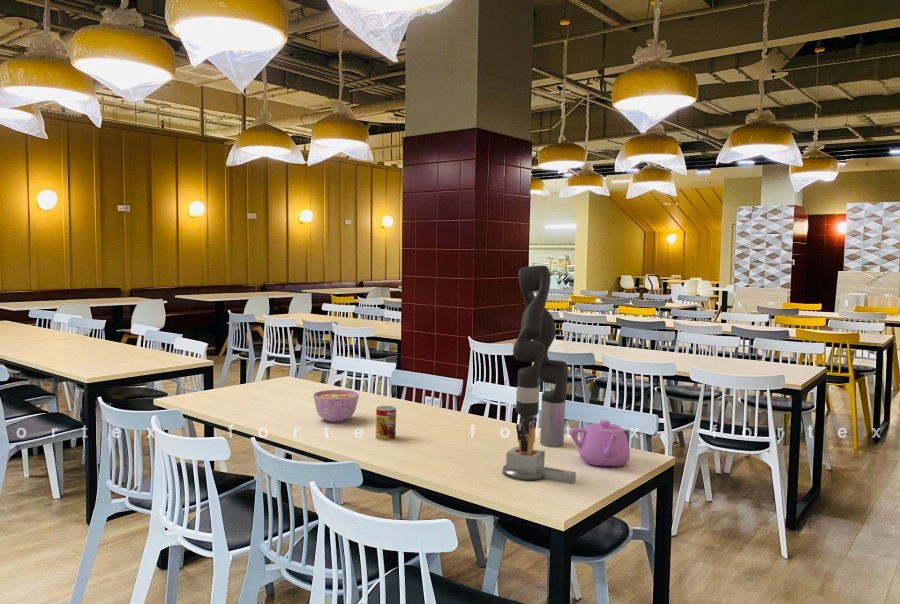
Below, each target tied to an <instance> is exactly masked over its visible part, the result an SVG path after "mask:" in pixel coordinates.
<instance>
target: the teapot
mask: <svg viewBox="0 0 900 604" xmlns="http://www.w3.org/2000/svg"><path fill="white" fill-rule="evenodd" d="M569 432H570V436H571V437H570V438H571V439H572V440H573V442H574V443H575V445H576V446H577V448H578V449H577V450H578V453H579V456H580V458H581V459H582V460H583V461H584V462H585V463H586V464H588V465H592V466H593V465H595V466H594V467H600V466H603V467H604V466H605V467H620V466H625V465H627V463H629V460H630V458H631V451H630V443H629V441H628V438H627V435H626V433H625V430H624V429H623V428H622V427H621V426H620V425H618V424H612V423H611V421H609V420H605V419H602V420H599V423H587V424H586V425H585V426H584V428H581V427H579V428H578V427H575V428H574V427H573V428H571V429H570V430H569ZM578 433H581V435H580V438H579V437H578ZM599 465H600V466H599Z"/></svg>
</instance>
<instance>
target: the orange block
mask: <svg viewBox="0 0 900 604" xmlns="http://www.w3.org/2000/svg"><path fill="white" fill-rule="evenodd" d="M525 431H526V430H525ZM526 432H527V431H526ZM517 443H518V447H519V453H524V454H530V455H533V449H534V443H536V428H534V427H533V428H530V434H528V449H527V452H522V451H521V440H518V439H517Z"/></svg>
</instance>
